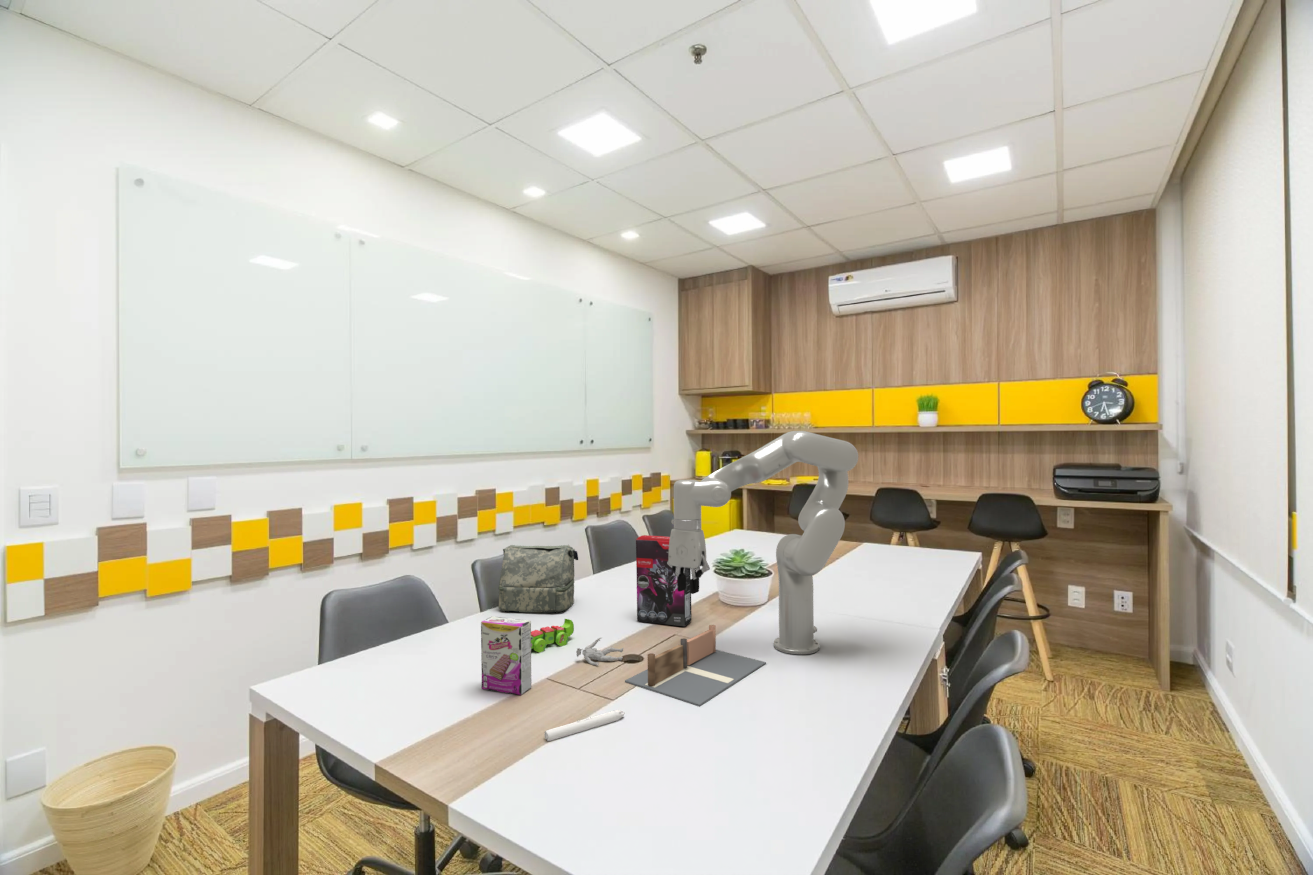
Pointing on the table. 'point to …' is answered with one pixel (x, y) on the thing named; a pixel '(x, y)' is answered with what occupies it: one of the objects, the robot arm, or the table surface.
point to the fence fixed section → (667, 663)
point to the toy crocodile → (551, 635)
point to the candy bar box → (506, 655)
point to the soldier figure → (598, 653)
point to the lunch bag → (537, 578)
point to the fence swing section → (701, 645)
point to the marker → (583, 725)
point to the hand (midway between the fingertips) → (688, 590)
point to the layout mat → (702, 677)
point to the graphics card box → (660, 584)
